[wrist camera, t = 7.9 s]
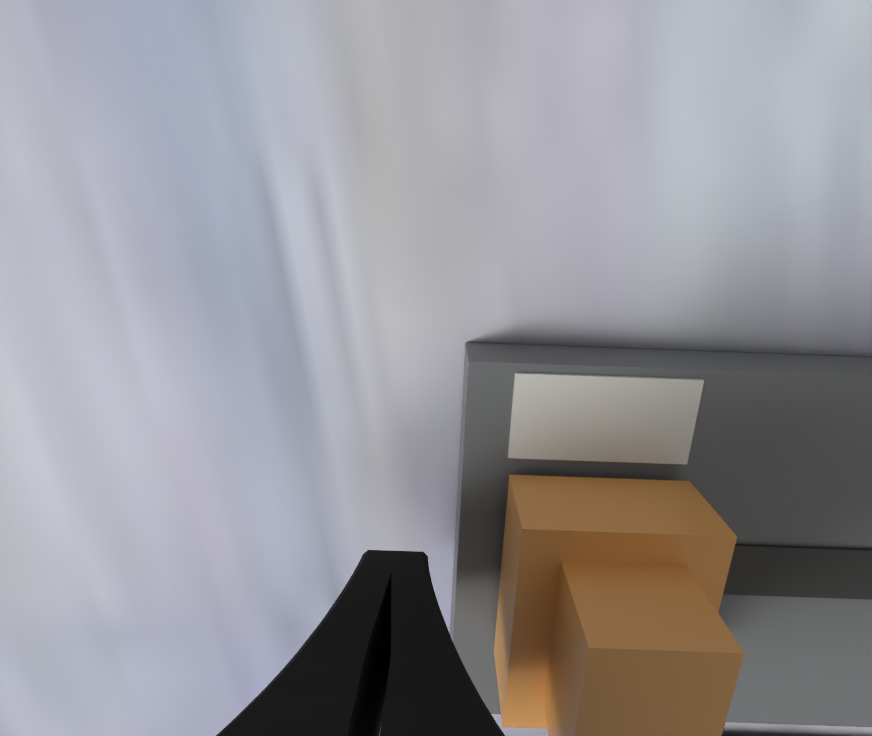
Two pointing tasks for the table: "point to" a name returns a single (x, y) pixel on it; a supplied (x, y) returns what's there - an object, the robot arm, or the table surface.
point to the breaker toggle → (614, 609)
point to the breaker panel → (714, 479)
